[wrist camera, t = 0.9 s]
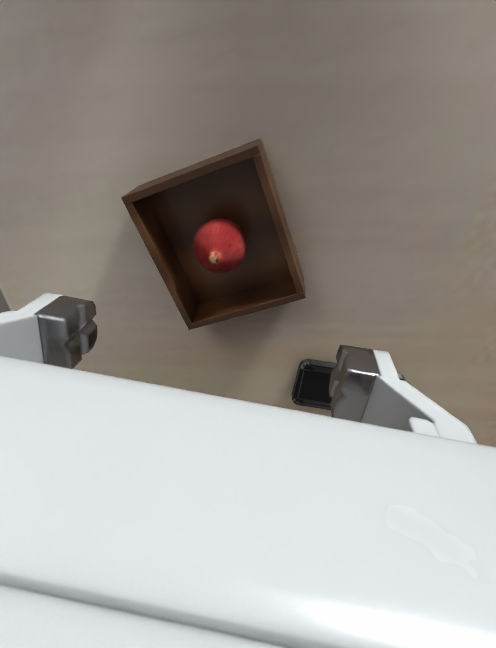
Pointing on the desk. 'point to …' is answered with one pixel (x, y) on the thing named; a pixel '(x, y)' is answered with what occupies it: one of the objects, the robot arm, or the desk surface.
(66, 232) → the desk surface
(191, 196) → the wooden box
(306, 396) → the phone
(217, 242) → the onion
